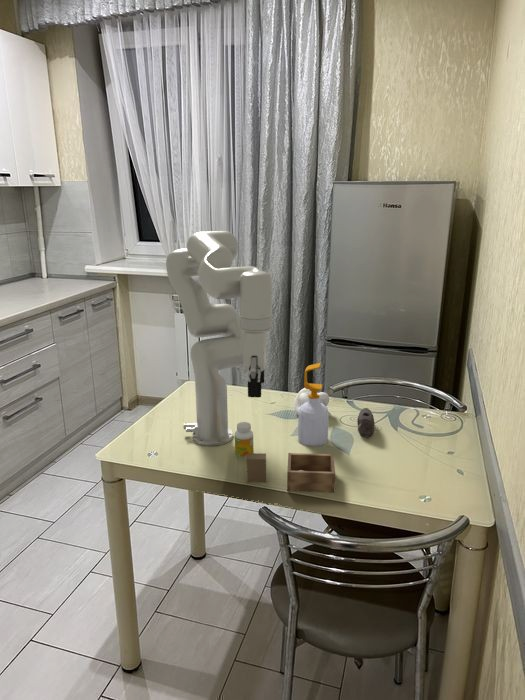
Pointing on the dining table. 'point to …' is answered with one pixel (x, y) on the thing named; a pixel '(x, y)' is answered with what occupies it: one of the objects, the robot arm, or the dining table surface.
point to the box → (311, 472)
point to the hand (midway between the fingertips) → (256, 389)
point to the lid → (256, 467)
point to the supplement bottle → (243, 440)
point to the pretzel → (303, 398)
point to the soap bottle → (313, 415)
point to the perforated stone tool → (365, 423)
